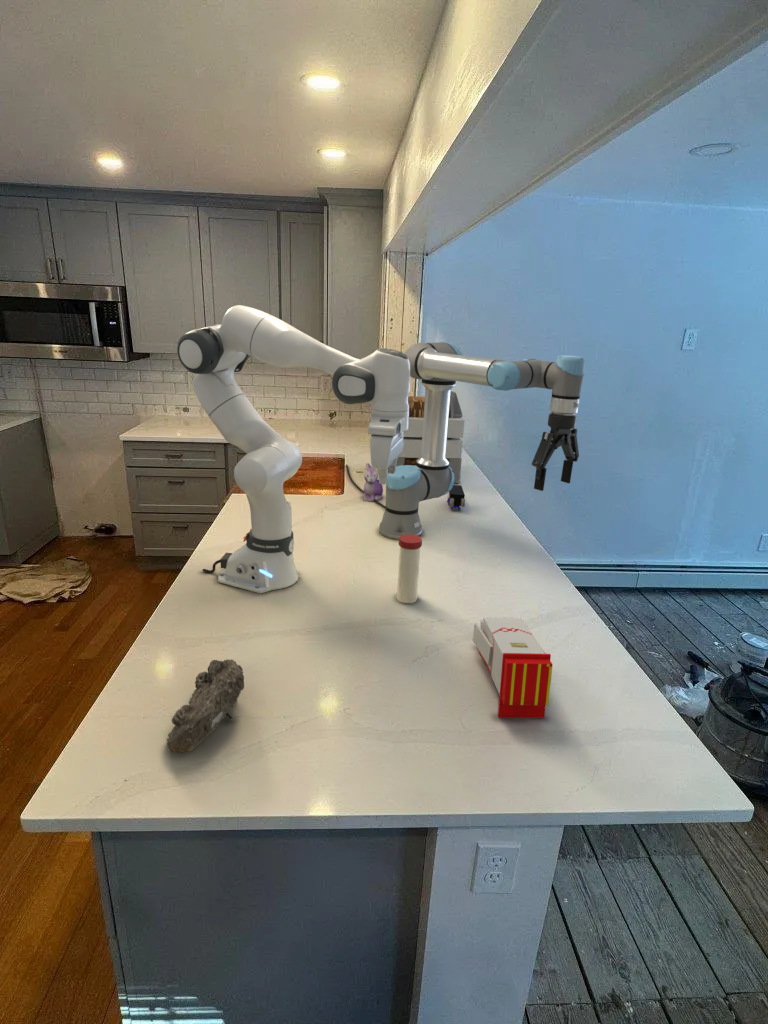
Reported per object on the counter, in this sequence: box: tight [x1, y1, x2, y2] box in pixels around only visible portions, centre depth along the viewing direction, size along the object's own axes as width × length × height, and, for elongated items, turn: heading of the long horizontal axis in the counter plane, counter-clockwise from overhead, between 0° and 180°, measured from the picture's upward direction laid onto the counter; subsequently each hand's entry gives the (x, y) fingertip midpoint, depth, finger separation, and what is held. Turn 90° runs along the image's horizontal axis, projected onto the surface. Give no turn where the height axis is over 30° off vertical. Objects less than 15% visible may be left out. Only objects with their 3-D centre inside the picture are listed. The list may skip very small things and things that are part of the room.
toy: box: [472, 616, 553, 719], centre depth 122 cm, size 12×13×30 cm
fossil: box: [166, 658, 245, 754], centre depth 106 cm, size 22×10×15 cm
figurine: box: [362, 462, 384, 502], centre depth 233 cm, size 9×10×15 cm
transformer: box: [396, 390, 465, 484], centre depth 268 cm, size 34×33×41 cm
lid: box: [398, 534, 423, 549], centre depth 150 cm, size 6×6×2 cm
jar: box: [396, 546, 421, 604], centre depth 153 cm, size 6×6×17 cm
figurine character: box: [446, 484, 466, 511], centre depth 229 cm, size 7×8×15 cm
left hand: (387, 478), depth 137 cm, fingers open, 8 cm apart
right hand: (552, 485), depth 166 cm, fingers open, 13 cm apart
